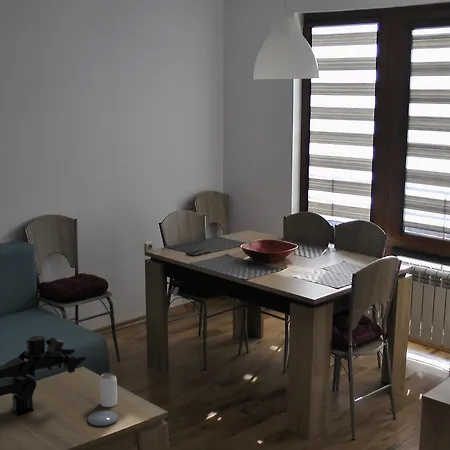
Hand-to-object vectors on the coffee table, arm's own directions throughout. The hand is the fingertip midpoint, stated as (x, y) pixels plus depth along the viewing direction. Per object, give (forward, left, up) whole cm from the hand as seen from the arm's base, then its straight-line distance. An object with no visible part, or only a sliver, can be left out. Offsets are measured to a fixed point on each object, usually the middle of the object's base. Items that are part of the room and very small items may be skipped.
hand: (80, 354), depth 280 cm
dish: (-6, -26, -17) cm, 32 cm away
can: (+3, -16, -17) cm, 24 cm away
